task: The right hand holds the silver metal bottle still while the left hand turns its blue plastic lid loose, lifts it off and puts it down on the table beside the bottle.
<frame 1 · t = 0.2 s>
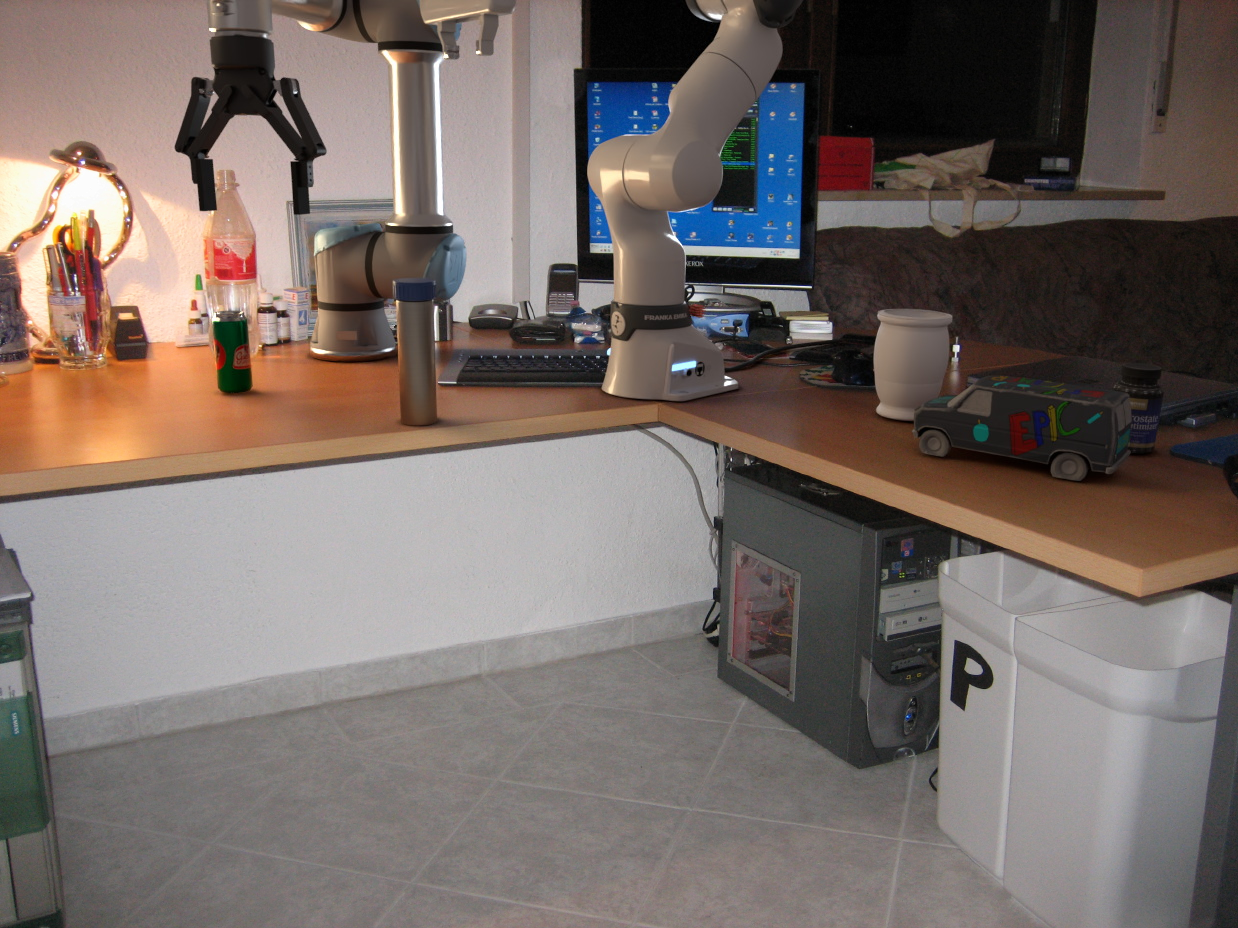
left hand: (254, 213, 138), 28 cm above the table, tool pointing down, fingers open, 13 cm apart
right hand: (467, 58, 139), 48 cm above the table, tool pointing down, fingers open, 8 cm apart
toy van: (1015, 461, 135), on the table
jar: (904, 416, 156), on the table
soda can: (235, 392, 164), on the table
metal bottle: (419, 421, 148), on the table
lid: (414, 282, 143), point 19 cm above the table, screwed on, not yet turned
pill bottle: (1128, 449, 141), on the table
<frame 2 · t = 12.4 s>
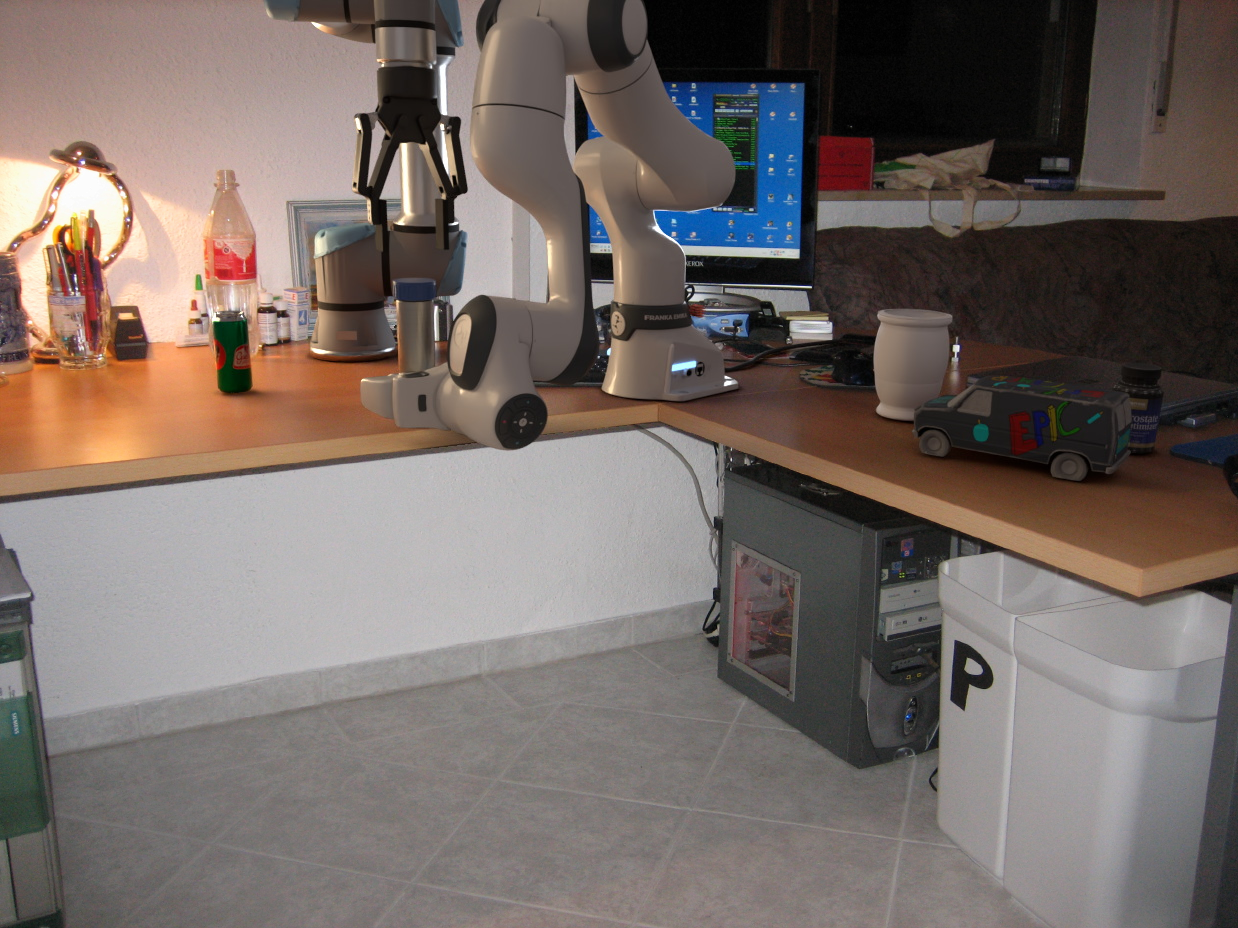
left hand: (413, 249, 142), 23 cm above the table, tool pointing down, fingers open, 8 cm apart
right hand: (414, 377, 147), 6 cm above the table, tool horizontal, fingers closed on metal bottle, 5 cm apart
metal bottle: (419, 421, 148), on the table, touching right hand
everything else where it was.
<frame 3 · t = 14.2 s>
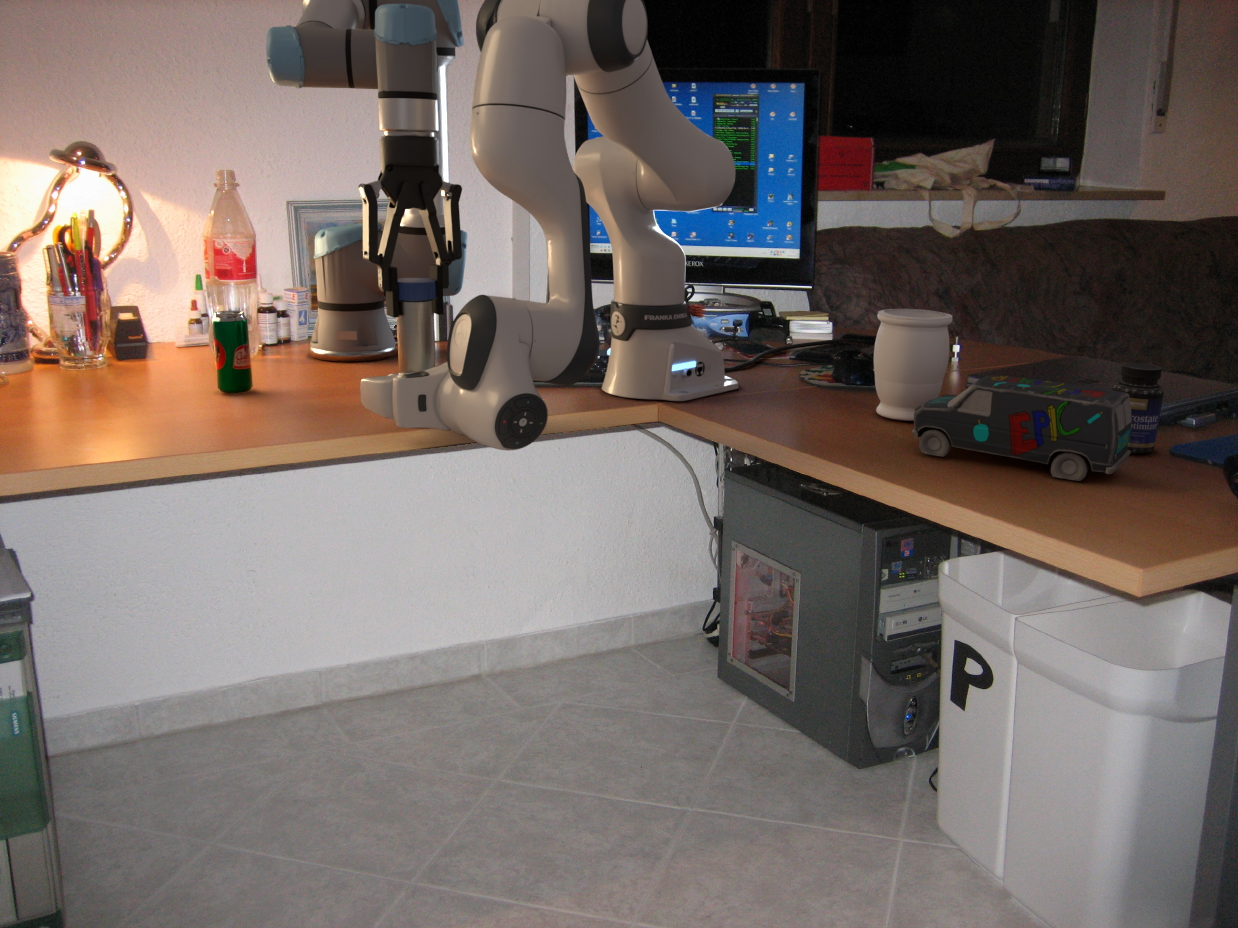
left hand: (415, 314, 144), 15 cm above the table, tool pointing down, fingers closed on lid, 6 cm apart
right hand: (414, 377, 147), 6 cm above the table, tool horizontal, fingers closed on metal bottle, 5 cm apart
metal bottle: (418, 421, 148), on the table, touching right hand
lid: (414, 282, 143), point 19 cm above the table, screwed on, not yet turned, touching left hand
everything else where it was.
when the left hand's fingers open (15 cm above the table, at t = 15.7 s): lid stays where it is, point 19 cm above the table.
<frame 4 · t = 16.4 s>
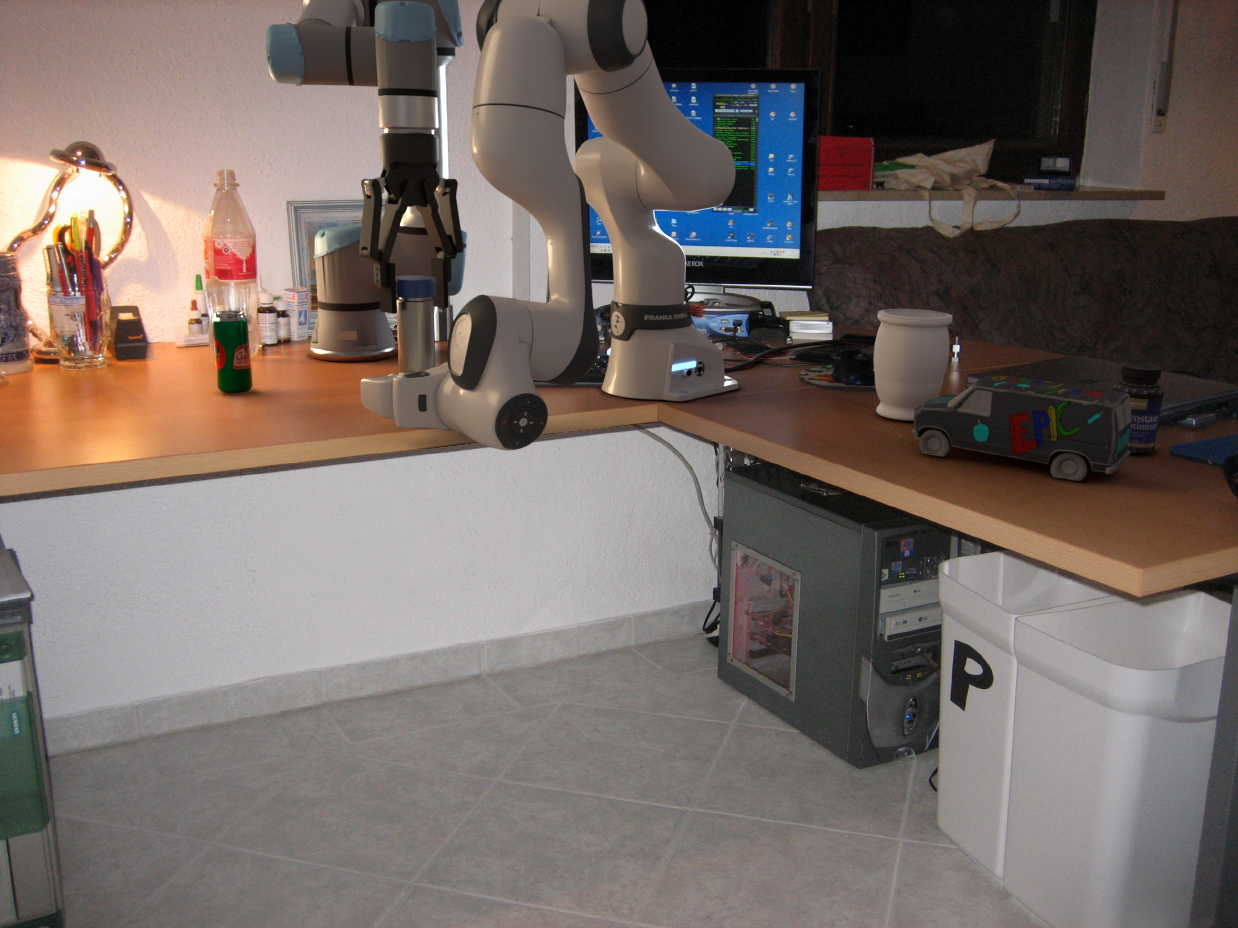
left hand: (415, 309, 144), 16 cm above the table, tool pointing down, fingers open, 8 cm apart
right hand: (414, 377, 147), 6 cm above the table, tool horizontal, fingers closed on metal bottle, 5 cm apart
metal bottle: (419, 421, 148), on the table, touching right hand
lid: (414, 280, 143), point 19 cm above the table, turned 93° so far, risen 0.3 cm, still on its thread
everything else where it was.
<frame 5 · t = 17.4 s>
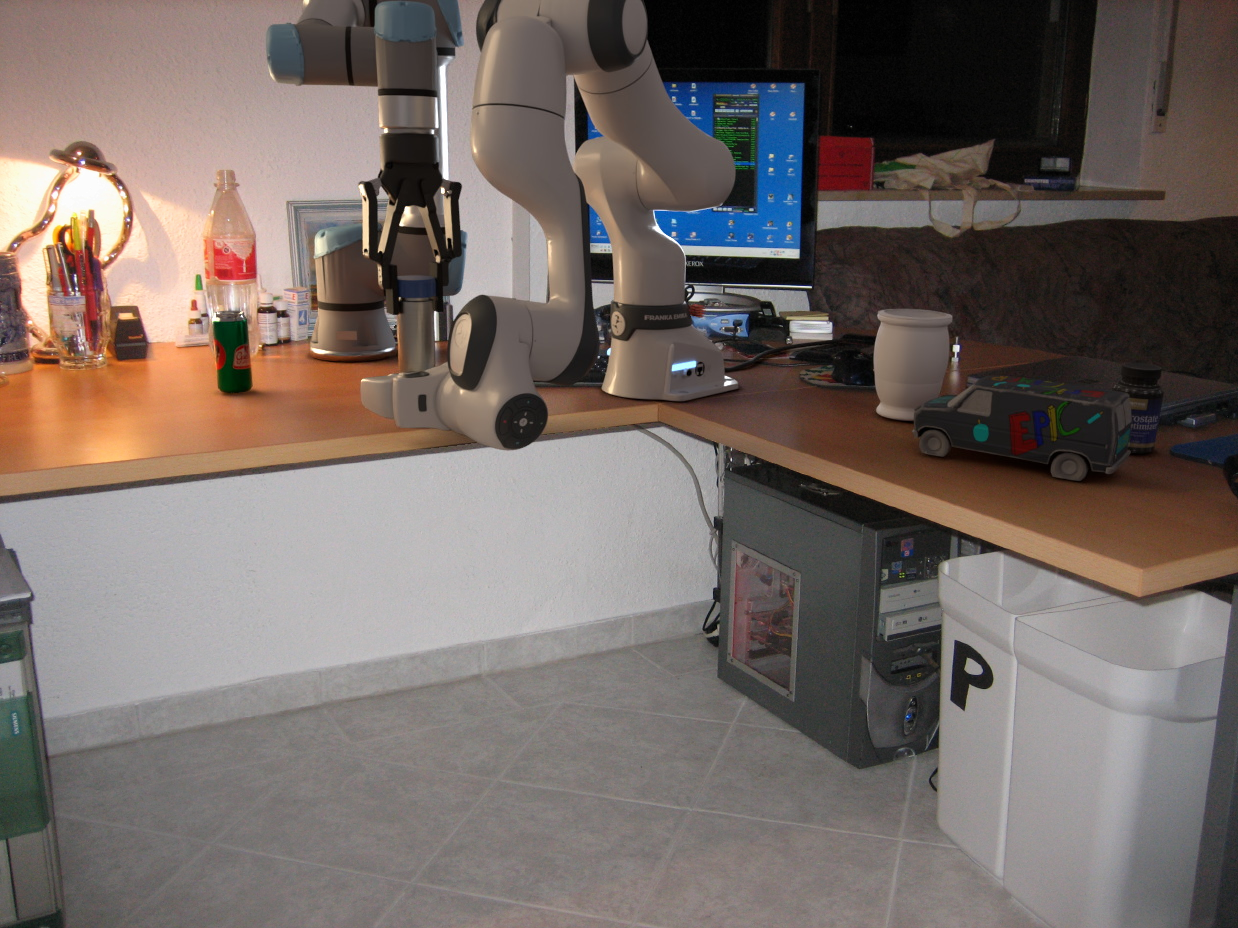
left hand: (415, 312, 144), 15 cm above the table, tool pointing down, fingers closed on lid, 6 cm apart
right hand: (414, 377, 147), 6 cm above the table, tool horizontal, fingers closed on metal bottle, 5 cm apart
metal bottle: (419, 421, 148), on the table, touching right hand
lid: (414, 280, 143), point 19 cm above the table, turned 93° so far, risen 0.3 cm, still on its thread, touching left hand
everything else where it was.
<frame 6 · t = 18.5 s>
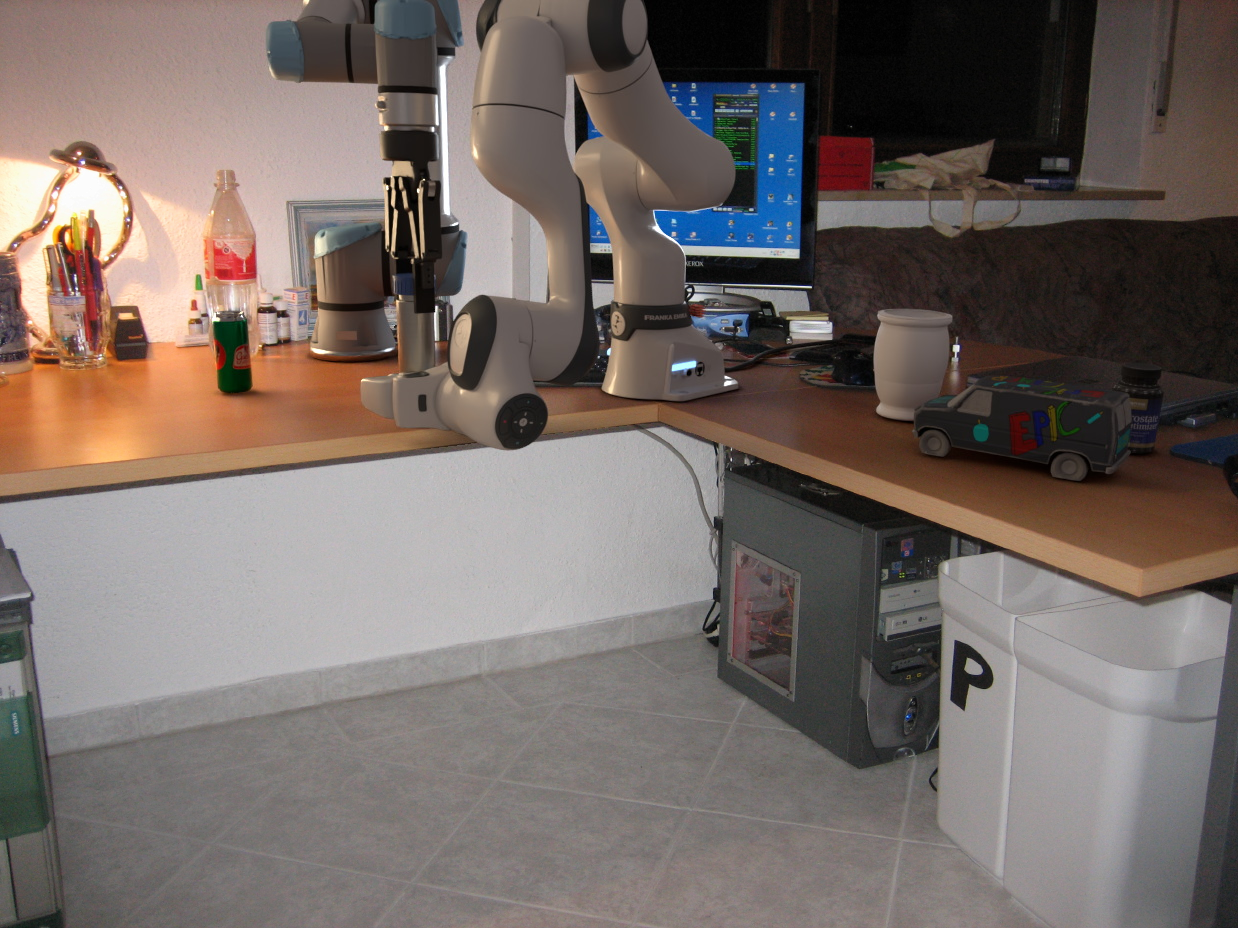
left hand: (415, 309, 144), 16 cm above the table, tool pointing down, fingers closed on lid, 6 cm apart
right hand: (414, 377, 147), 6 cm above the table, tool horizontal, fingers closed on metal bottle, 5 cm apart
metal bottle: (419, 421, 148), on the table, touching right hand
lid: (414, 277, 143), point 20 cm above the table, off its thread, touching left hand
everything else where it was.
when the left hand's fingers open (0 cm above the table, at t = 26.0 s): lid drops 2 cm, point 2 cm above the table.
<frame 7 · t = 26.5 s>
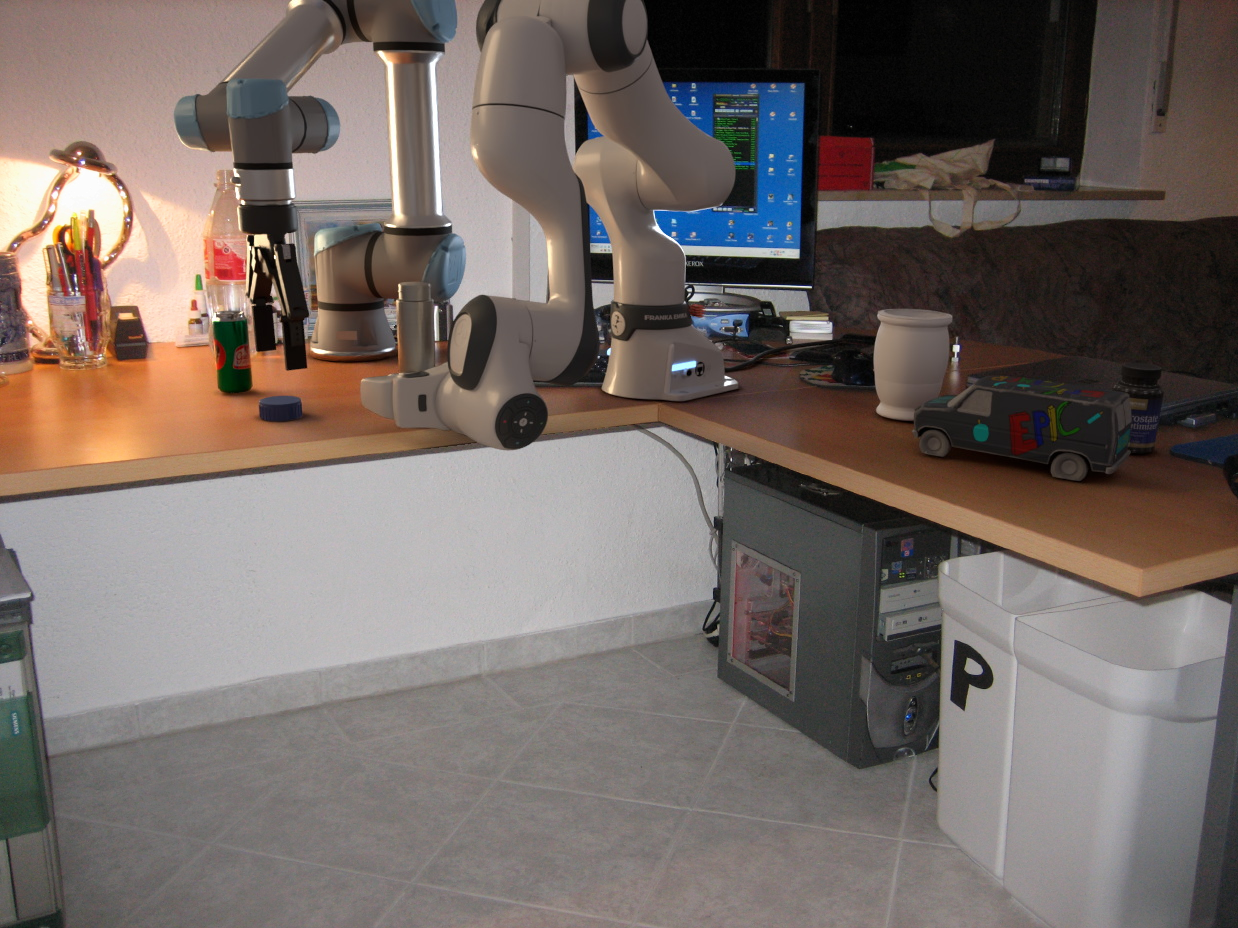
left hand: (280, 359, 148), 8 cm above the table, tool pointing down, fingers open, 13 cm apart
right hand: (414, 377, 147), 6 cm above the table, tool horizontal, fingers closed on metal bottle, 5 cm apart
metal bottle: (419, 421, 148), on the table, touching right hand
lid: (280, 402, 149), point 2 cm above the table, off its thread
everything else where it was.
when the right hand's fingers open (6 cm above the table, at t = 26.8 s): metal bottle stays where it is, on the table.
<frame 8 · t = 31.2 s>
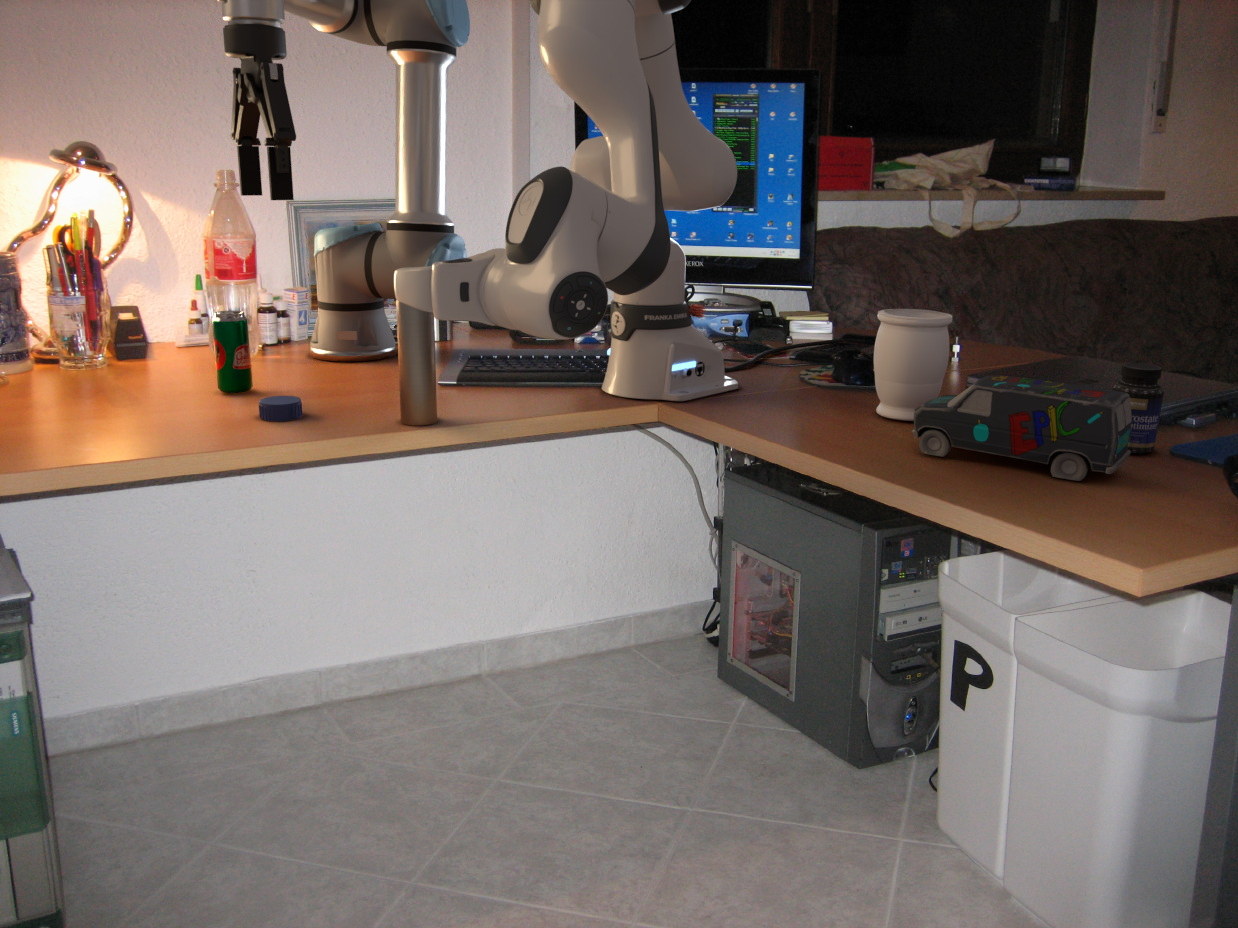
left hand: (266, 198, 141), 30 cm above the table, tool pointing down, fingers open, 13 cm apart
right hand: (451, 276, 134), 21 cm above the table, tool horizontal, fingers open, 8 cm apart
metal bottle: (419, 421, 148), on the table
everything else where it was.
at the end: lid came off its thread; lid point 2.0 cm above the table; the left hand is holding nothing; the right hand is holding nothing; metal bottle tilted 0°; metal bottle moved 0.0 cm from its start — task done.
